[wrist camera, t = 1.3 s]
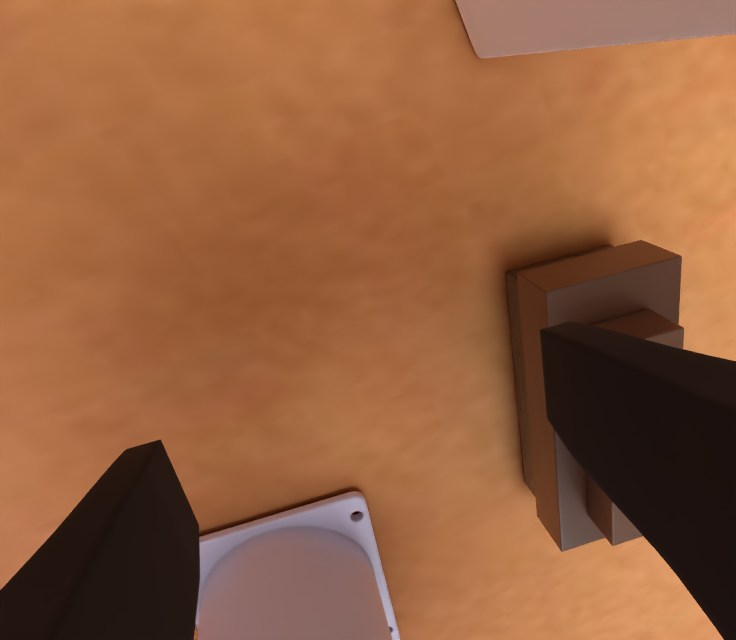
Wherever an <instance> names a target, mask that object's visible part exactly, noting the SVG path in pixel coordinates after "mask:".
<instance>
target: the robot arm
mask: <svg viewBox="0 0 736 640" xmlns="http://www.w3.org/2000/svg"><path fill="white" fill-rule="evenodd" d="M540 340H541V353H542V365H543V377H544V389H545V402H546V414H547V419H548V421H549V422H550V424H551V425H552V427H553V428H554V430H555V431H556V433H557V434H558V436H559V437H560V439H561V440H562V442H563V443H564V445H565V446H566V448H567V449H568V450H569V452H570V453H571V455H572V456H573V458H574V459H575V460H576V461H577V463H578V464H579V465H580V466H581V467H582V468H583V469H584V471H585V472H586V473H587V474H588V475H589V476H590V477H591V478H592V480H593V481H594V482H595V483H596V484H597V485H598V486H599V487H600V489H601V490H602V491H603V492H604V493H605V494H606V495H607V496H608V497H609V499H610V500H611V501H612V502H613V503H614V504H615V505H616V506H617V507H618V509H619V510H620V511H621V512H622V513H623V514H624V515H625V516H626V517H627V518H628V520H629V521H630V522H631V523H632V524H633V525H634V526H635V527H636V528H637V530H638V531H639V532H640V533H641V534H642V535H643V536H644V537H645V538H646V539H647V541H648V542H649V543H650V544H651V545H652V546H653V547H654V548H655V549H656V551H657V552H658V553H659V554H660V555H661V557H662V558H663V559H664V560H665V561H666V563H667V564H668V565H669V566H670V567H671V569H672V570H673V571H674V572H675V573H676V575H677V576H678V577H679V579H680V580H681V581H682V583H683V584H684V585H685V587H686V588H687V590H688V591H689V592H690V594H691V595H692V596H693V598H694V599H695V600H696V602H697V603H698V604H699V606H700V607H701V608H702V610H703V611H704V612H705V614H706V615H707V616H708V618H709V619H710V621H711V622H712V623H713V625H714V626H715V627H716V629H717V630H718V632H719V633H720V635H721V636H722V637H723V639H724V640H736V361H732V360H727V359H722V358H718V357H713V356H709V355H704V354H700V353H696V352H692V351H688V350H684V349H680V348H676V347H672V346H668V345H664V344H660V343H657V342H653V341H649V340H645V339H642V338H638V337H634V336H631V335H627V334H623V333H619V332H616V331H612V330H608V329H604V328H600V327H596V326H592V325H588V324H583V323H578V322H572V321H568V322H565V323H561V324H558V325H554V326H551V327H547V328H544V329H541V330H540ZM355 511H360V513H358V514H356V515H352V513H353V512H355ZM195 625H196V627H197V629H198V639H197V640H401V639H400V635H399V631H398V627H397V623H396V619H395V615H394V611H393V607H392V603H391V599H390V595H389V591H388V587H387V583H386V579H385V575H384V571H383V567H382V563H381V559H380V556H379V552H378V548H377V544H376V540H375V536H374V532H373V528H372V524H371V520H370V516H369V512H368V508H367V504H366V500H365V497H364V495H363V494H362V493H360V492H357V491H352V492H348V493H345V494H341V495H338V496H335V497H331V498H328V499H325V500H321V501H318V502H315V503H311V504H308V505H304V506H301V507H298V508H294V509H291V510H288V511H284V512H281V513H278V514H274V515H271V516H268V517H264V518H261V519H258V520H254V521H251V522H248V523H244V524H241V525H238V526H234V527H231V528H228V529H224V530H221V531H218V532H214V533H211V534H208V535H204V536H201V537H199V524H198V522H197V520H196V518H195V515H194V513H193V511H192V509H191V506H190V504H189V502H188V500H187V497H186V495H185V493H184V491H183V489H182V486H181V484H180V482H179V480H178V477H177V475H176V473H175V471H174V468H173V466H172V464H171V462H170V459H169V457H168V455H167V453H166V450H165V448H164V446H163V444H162V441H161V439H160V440H157V441H154V442H150V443H147V444H143V445H140V446H136V447H133V448H129V449H126V450H125V451H124V452H123V453H122V454H121V455H120V456H119V457H118V458H117V459H116V460H115V461H114V463H113V464H112V465H111V466H110V467H109V468H108V469H107V471H106V472H105V473H104V474H103V475H102V476H101V478H100V479H99V480H98V481H97V482H96V484H95V485H94V486H93V487H92V488H91V489H90V491H89V492H88V493H87V494H86V495H85V497H84V498H83V499H82V500H81V501H80V502H79V504H78V505H77V506H76V507H75V508H74V509H73V511H72V512H71V513H70V514H69V515H68V516H67V518H66V519H65V520H64V521H63V522H62V524H61V525H60V526H59V527H58V528H57V529H56V531H55V532H54V533H53V534H52V535H51V536H50V537H49V538H48V540H47V541H46V542H45V543H44V544H43V545H42V546H41V547H40V548H39V549H38V550H37V551H36V553H35V554H34V555H33V556H32V557H31V558H30V559H29V560H28V561H27V562H26V563H25V564H24V566H23V567H22V568H21V569H20V570H19V571H18V572H17V573H16V574H15V575H14V576H13V577H12V579H11V580H10V581H9V582H8V583H7V584H6V585H5V586H4V587H3V588H2V589H1V590H0V640H194V631H195Z"/></svg>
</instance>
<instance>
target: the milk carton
mask: <svg viewBox="0 0 736 640" xmlns="http://www.w3.org/2000/svg"><path fill="white" fill-rule="evenodd" d="M455 1H456V3H457V6H458V9H459V12H460V14H461V17H462V20H463V22H464V25H465V28H466V30H467V33H468V36H469V38H470V41H471V43H472V46H473V48H474V50H475V53H476V54H477V56H478V57H480V58H494V57H504V56H514V55H525V54H535V53H545V52H556V51H566V50H576V49H587V48H597V47H608V46H618V45H628V44H639V43H649V42H659V41H670V40H680V39H690V38H701V37H711V36H721V35H732V34H736V0H455Z"/></svg>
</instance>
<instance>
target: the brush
mask: <svg viewBox="0 0 736 640" xmlns="http://www.w3.org/2000/svg"><path fill="white" fill-rule="evenodd" d="M681 262H682V257H681V256H680V255H678V254H675V253H673V252H670V251H668V250H665V249H663V248H660V247H658V246H655V245H653V244H650V243H648V242H645V241H642V240H639V241H635V242H632V243H628V244H624V245H620V246H616V247H615V246H613V245H610V244H609V245H605V246H601V247H598V248H594V249H590V250H586V251H582V252H579V253H575V254H571V255H567V256H563V257H560V258H556V259H552V260H548V261H544V262H541V263H537V264H533V265H529V266H525V267H522V268H518V269H514V270H510V271H507V272H506V284H507V295H508V305H509V316H510V327H511V338H512V349H513V360H514V371H515V381H516V392H517V403H518V414H519V425H520V436H521V446H522V457H523V468H524V479H525V483H526V485H527V486H528V487H529V489H530V490H531V492H532V493H533V494H534V496H535V497H536V507H537V516H538V518H539V519H540V521H541V522H542V524H543V525H544V527H545V528H546V530H547V531H548V533H549V534H550V536H551V537H552V538H553V540H554V541H555V543H556V544H557V546H558V547H559V549H560V550H561V551H566V550H569V549H572V548H575V547H578V546H581V545H584V544H587V543H590V542H593V541H596V540H599V539H602V538H605V537H606V539H607V540H608V541H609V542H610V544H611V545H612V546H614V545H617V544H620V543H623V542H626V541H629V540H632V539H635V538H638V537H642V536H643V535H642V534H641V533H640V532H639V531H638V530H637V528H636V527H635V526H634V525H633V524H632V523H631V522H630V521H629V520H628V518H627V517H626V516H625V515H624V514H623V513H622V512H621V511H620V510H619V509H618V507H617V506H616V505H615V504H614V503H613V502H612V501H611V500H610V499H609V497H608V496H607V495H606V494H605V493H604V492H603V491H602V490H601V489H600V487H599V486H598V485H597V484H596V483H595V482H594V481H593V480H592V478H591V477H590V476H589V475H588V474H587V473H586V472H585V471H584V469H583V468H582V467H581V466H580V465H579V464H578V463H577V461H576V460H575V459H574V458H573V456H572V455H571V453H570V452H569V450H568V449H567V448H566V446H565V445H564V443H563V442H562V440H561V439H560V437H559V436H558V434H557V433H556V431H555V430H554V428H553V427H552V425H551V424H550V422H549V421H548V419H547V414H546V402H545V389H544V377H543V365H542V353H541V340H540V330H541V329H544V328H547V327H551V326H554V325H558V324H561V323H565V322H568V321H572V322H578V323H583V324H588V325H592V326H596V327H600V328H604V329H608V330H612V331H616V332H619V333H623V334H627V335H631V336H634V337H638V338H642V339H645V340H649V341H653V342H657V343H660V344H664V345H668V346H672V347H676V348H680V349H683V339H684V328H683V327H681V326H680V325H678V322H679V302H680V282H681Z"/></svg>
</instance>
